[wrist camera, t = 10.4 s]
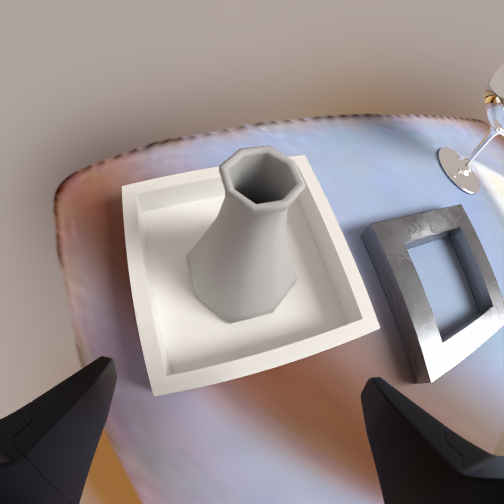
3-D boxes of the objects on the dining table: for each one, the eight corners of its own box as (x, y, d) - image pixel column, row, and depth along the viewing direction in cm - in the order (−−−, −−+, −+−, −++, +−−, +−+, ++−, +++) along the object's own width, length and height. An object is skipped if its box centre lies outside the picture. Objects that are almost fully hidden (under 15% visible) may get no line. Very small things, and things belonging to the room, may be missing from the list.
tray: (359, 336, 19) (380, 328, 17) (163, 393, 16) (153, 396, 14) (296, 178, 25) (304, 155, 22) (131, 209, 21) (121, 186, 19)
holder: (495, 324, 21) (509, 319, 19) (415, 383, 18) (431, 382, 16) (450, 213, 26) (460, 204, 24) (360, 235, 23) (371, 223, 21)
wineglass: (487, 195, 29) (572, 101, 11) (457, 196, 27) (557, 80, 9) (460, 150, 32) (529, 54, 14) (427, 145, 30) (503, 29, 12)
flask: (169, 253, 20) (138, 152, 11) (254, 208, 22) (279, 101, 13) (225, 343, 18) (234, 305, 9) (313, 285, 20) (384, 206, 11)
